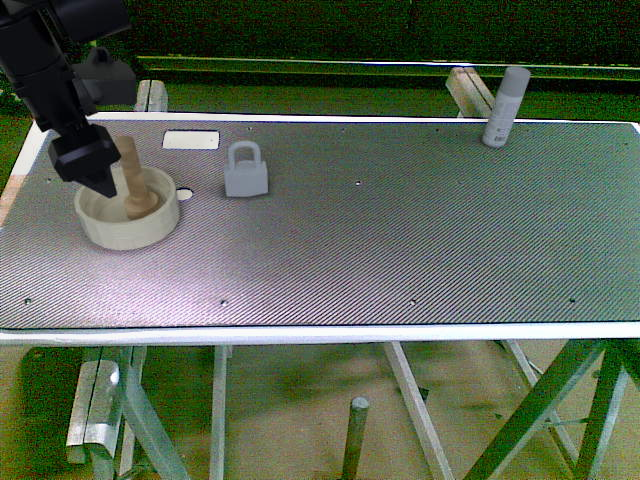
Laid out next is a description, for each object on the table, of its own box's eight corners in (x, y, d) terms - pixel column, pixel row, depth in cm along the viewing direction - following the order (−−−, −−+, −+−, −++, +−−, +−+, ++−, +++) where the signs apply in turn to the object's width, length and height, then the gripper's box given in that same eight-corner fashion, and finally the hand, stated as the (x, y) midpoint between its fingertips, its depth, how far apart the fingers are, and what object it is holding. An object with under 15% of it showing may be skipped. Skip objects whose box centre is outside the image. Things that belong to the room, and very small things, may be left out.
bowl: (93, 264, 69) (82, 237, 65) (79, 204, 77) (68, 177, 73) (191, 236, 74) (186, 209, 70) (167, 183, 82) (162, 157, 79)
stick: (130, 226, 74) (108, 154, 64) (123, 206, 77) (101, 135, 67) (164, 217, 75) (147, 146, 66) (156, 198, 79) (139, 127, 69)
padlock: (265, 181, 84) (263, 132, 77) (268, 195, 82) (267, 146, 74) (225, 184, 83) (219, 135, 76) (226, 199, 80) (221, 149, 73)
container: (507, 139, 99) (534, 70, 88) (501, 150, 96) (528, 79, 85) (485, 132, 100) (509, 63, 90) (478, 142, 97) (502, 72, 87)
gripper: (137, 69, 44) (189, 189, 56) (88, 3, 55) (141, 115, 67) (15, 116, 41) (98, 232, 53) (-11, 36, 52) (63, 148, 64)
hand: (103, 175), depth 59 cm, fingers open, 9 cm apart
